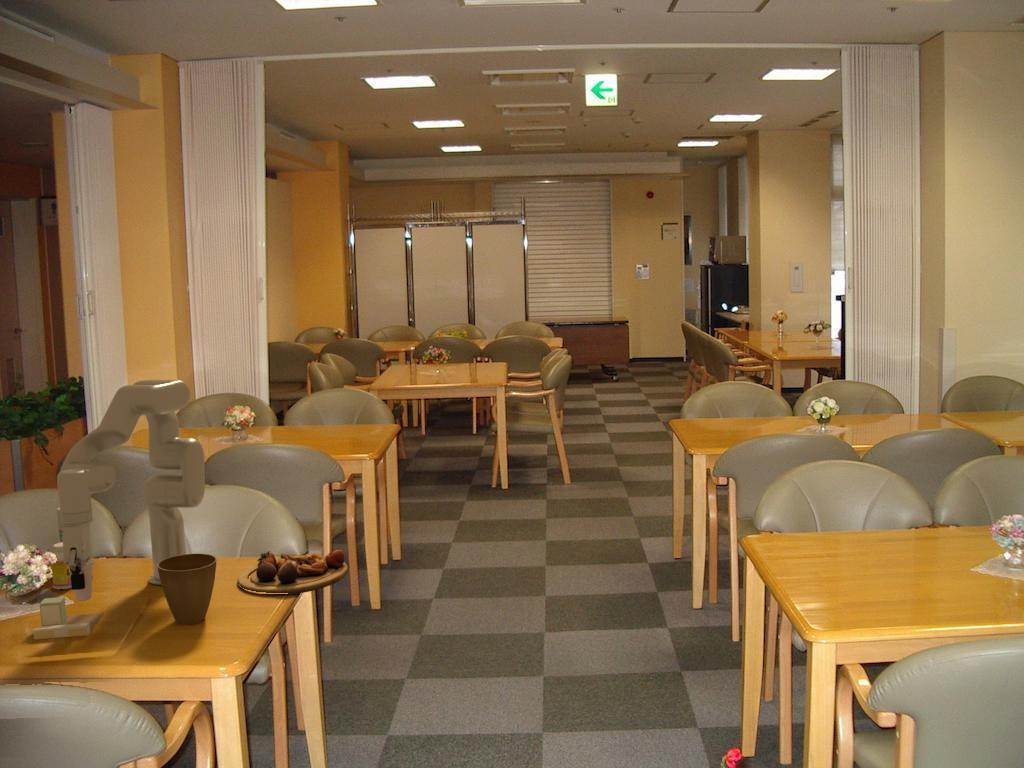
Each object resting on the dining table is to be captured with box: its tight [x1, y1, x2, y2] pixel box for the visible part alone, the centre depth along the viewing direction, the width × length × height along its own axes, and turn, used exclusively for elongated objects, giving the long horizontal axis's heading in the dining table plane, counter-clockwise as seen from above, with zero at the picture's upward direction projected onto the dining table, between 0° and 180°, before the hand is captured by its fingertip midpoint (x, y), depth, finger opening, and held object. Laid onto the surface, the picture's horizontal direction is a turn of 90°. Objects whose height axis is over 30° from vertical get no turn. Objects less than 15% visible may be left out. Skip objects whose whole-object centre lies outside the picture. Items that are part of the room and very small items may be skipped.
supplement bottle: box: [51, 542, 72, 590], centre depth 297 cm, size 7×7×13 cm
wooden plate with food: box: [237, 549, 349, 595], centre depth 299 cm, size 32×32×8 cm
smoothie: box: [67, 559, 95, 602], centre depth 262 cm, size 6×6×14 cm
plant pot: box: [157, 553, 218, 625], centre depth 266 cm, size 15×15×16 cm
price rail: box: [32, 623, 91, 640], centre depth 256 cm, size 13×2×4 cm, turn 98°
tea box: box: [39, 596, 67, 627], centre depth 262 cm, size 5×4×7 cm
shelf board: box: [33, 612, 105, 641], centre depth 263 cm, size 13×16×1 cm
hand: (82, 584), depth 262 cm, fingers closed on smoothie, 6 cm apart
